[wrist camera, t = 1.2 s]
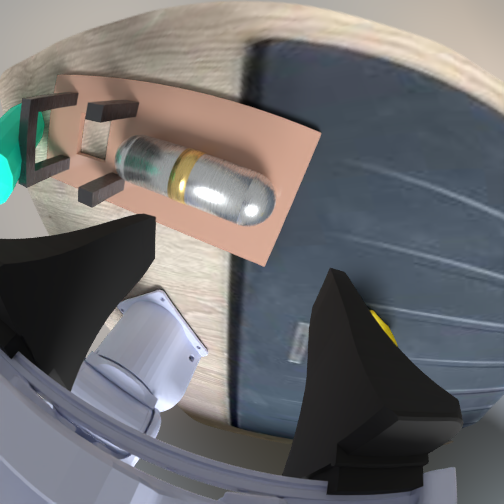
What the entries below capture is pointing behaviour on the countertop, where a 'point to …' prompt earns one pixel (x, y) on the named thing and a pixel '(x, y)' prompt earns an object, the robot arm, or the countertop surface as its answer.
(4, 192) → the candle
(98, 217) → the countertop surface
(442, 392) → the robot arm
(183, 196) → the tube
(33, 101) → the black upright posts
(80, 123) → the plate
